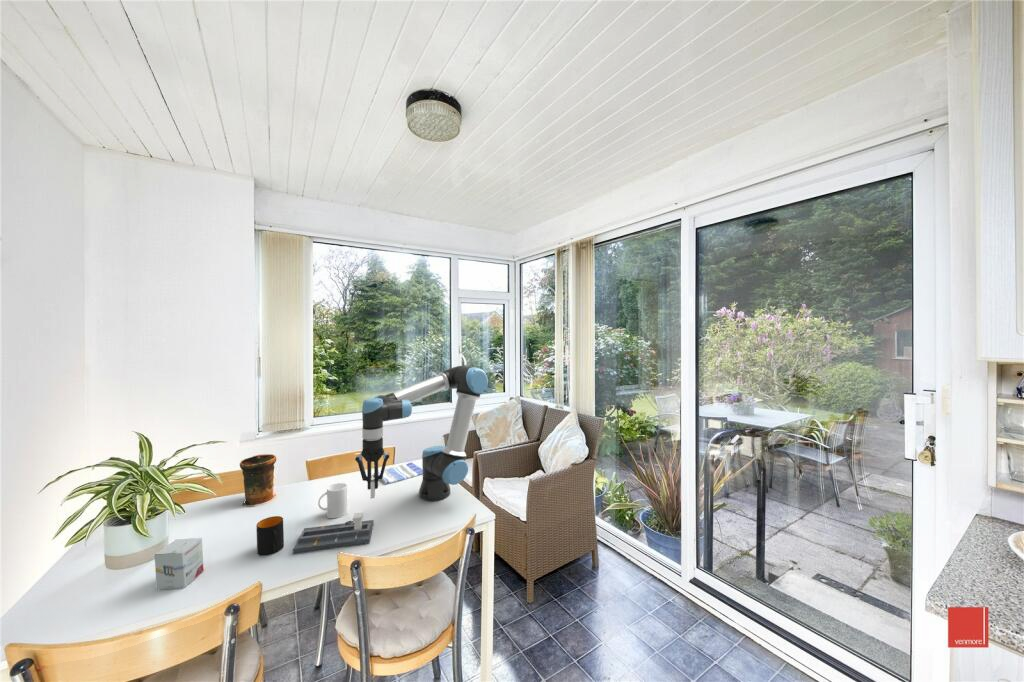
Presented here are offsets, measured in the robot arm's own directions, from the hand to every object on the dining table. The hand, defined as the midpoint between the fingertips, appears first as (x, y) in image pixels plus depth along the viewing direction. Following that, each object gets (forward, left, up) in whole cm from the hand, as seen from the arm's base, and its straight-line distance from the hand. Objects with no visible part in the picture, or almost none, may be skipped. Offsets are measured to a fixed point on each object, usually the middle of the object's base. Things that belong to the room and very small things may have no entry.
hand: (372, 496), depth 146 cm
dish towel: (-7, -58, -16) cm, 61 cm away
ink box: (+58, +13, -15) cm, 61 cm away
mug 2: (+19, -20, -15) cm, 31 cm away
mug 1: (+35, +3, -15) cm, 38 cm away
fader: (+6, 0, -13) cm, 14 cm away
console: (+14, 0, -15) cm, 20 cm away
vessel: (+56, -43, -15) cm, 72 cm away
